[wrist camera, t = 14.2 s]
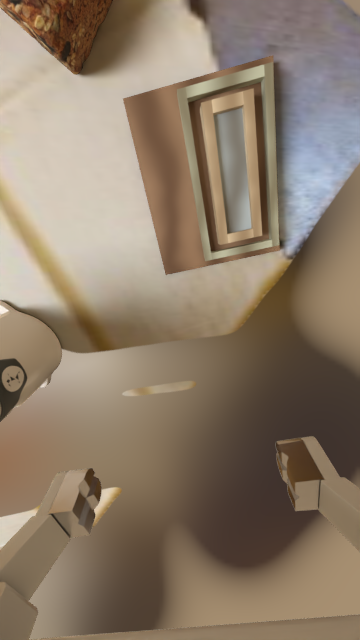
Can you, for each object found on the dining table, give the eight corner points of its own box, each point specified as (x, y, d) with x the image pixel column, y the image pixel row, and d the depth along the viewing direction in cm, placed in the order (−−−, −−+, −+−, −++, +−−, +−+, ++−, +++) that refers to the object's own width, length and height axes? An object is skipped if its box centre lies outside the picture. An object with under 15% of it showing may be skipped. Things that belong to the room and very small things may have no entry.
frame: (218, 243, 34) (220, 244, 32) (199, 110, 28) (201, 102, 26) (257, 234, 34) (262, 235, 32) (248, 96, 27) (253, 88, 26)
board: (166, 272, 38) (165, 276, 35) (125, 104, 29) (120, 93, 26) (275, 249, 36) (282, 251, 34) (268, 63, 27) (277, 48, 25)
